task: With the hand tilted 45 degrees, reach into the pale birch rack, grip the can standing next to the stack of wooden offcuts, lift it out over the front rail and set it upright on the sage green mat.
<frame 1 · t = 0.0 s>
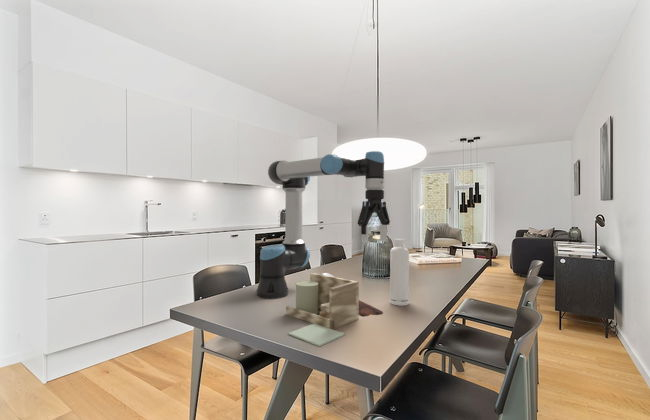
hand: (374, 241, 134), 28 cm above the table, tool pointing down, fingers open, 13 cm apart
can: (306, 312, 130), resting in rack
mat: (316, 334, 107), on the table
offcut stack: (333, 320, 120), resting in rack
bottle: (399, 303, 144), on the table
spoon rest: (329, 289, 170), on the table
wooden tablet: (357, 307, 139), on the table
rack: (321, 316, 125), on the table
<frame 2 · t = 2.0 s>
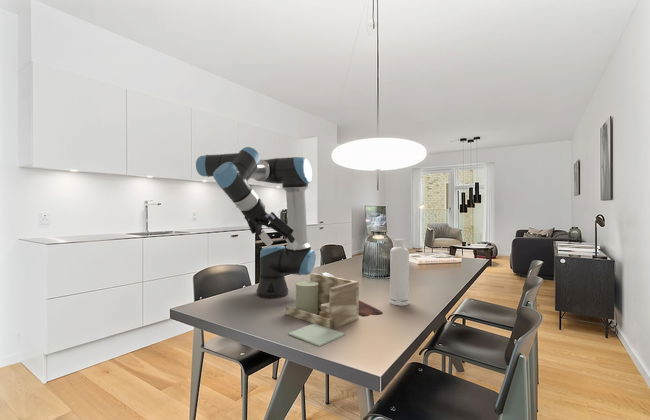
hand: (282, 246, 120), 28 cm above the table, tool tilted 45°, fingers open, 13 cm apart
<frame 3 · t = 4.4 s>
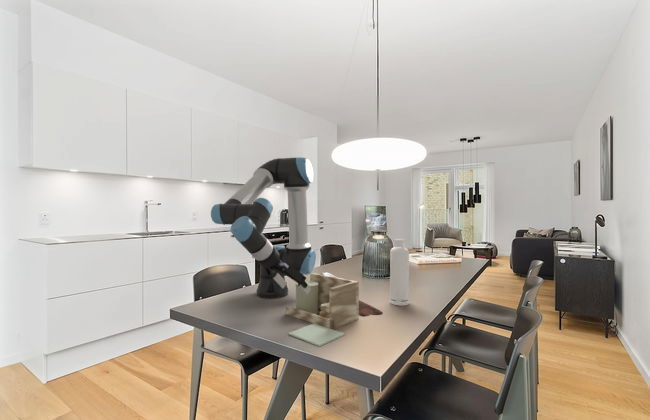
hand: (296, 288, 125), 11 cm above the table, tool tilted 45°, fingers open, 13 cm apart
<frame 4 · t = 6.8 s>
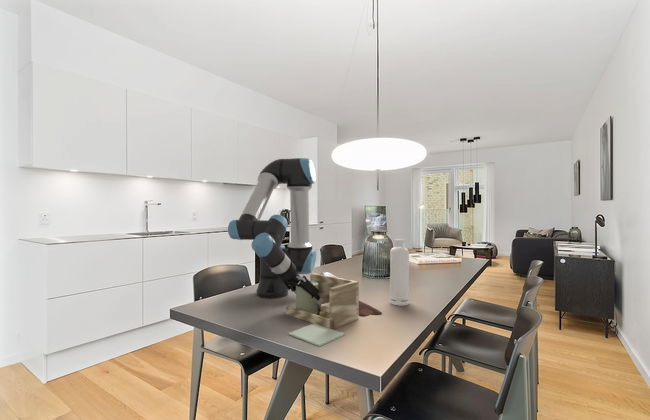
hand: (312, 300, 133), 4 cm above the table, tool tilted 45°, fingers closed on can, 9 cm apart
can: (306, 312, 130), resting in rack, touching gripper
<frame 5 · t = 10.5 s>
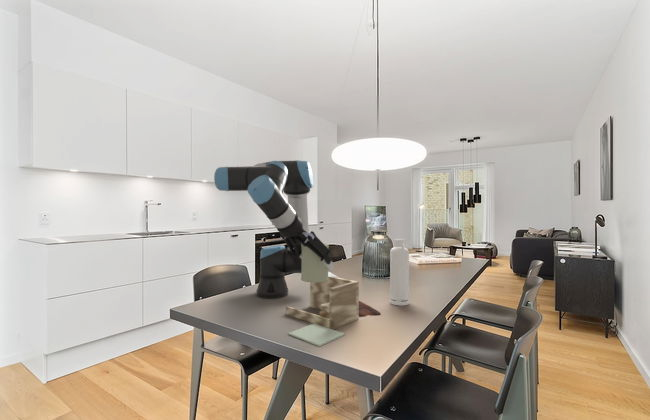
hand: (321, 266, 110), 22 cm above the table, tool tilted 45°, fingers closed on can, 9 cm apart
can: (314, 280, 108), point 18 cm above the table, touching gripper
when the fingers open (6 cm above the table, at t = 14.1 s): can drops 1 cm, resting on mat.
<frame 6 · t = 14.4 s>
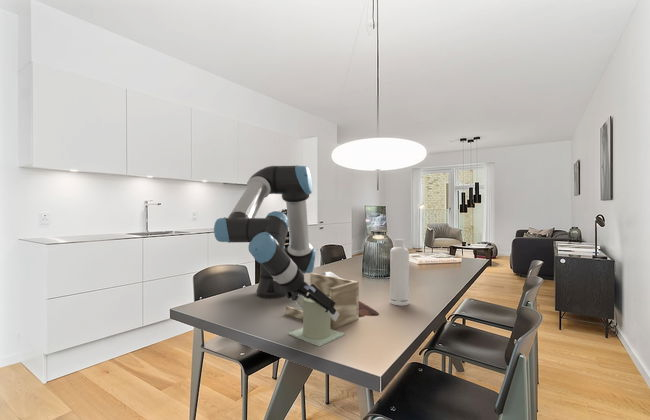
hand: (321, 313, 109), 7 cm above the table, tool tilted 45°, fingers open, 13 cm apart
can: (316, 334, 107), resting on mat
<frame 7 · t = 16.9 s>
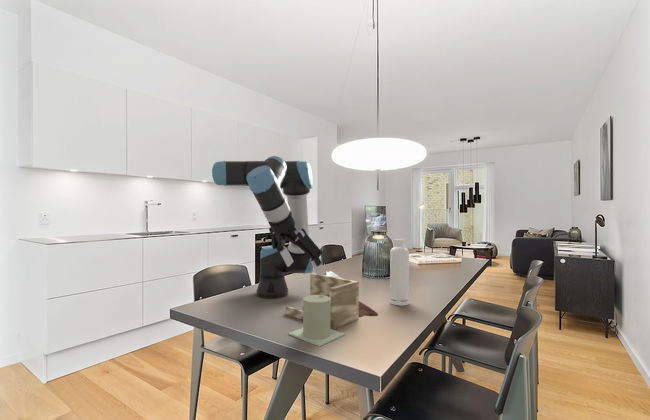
hand: (304, 267, 107), 22 cm above the table, tool tilted 35°, fingers open, 13 cm apart
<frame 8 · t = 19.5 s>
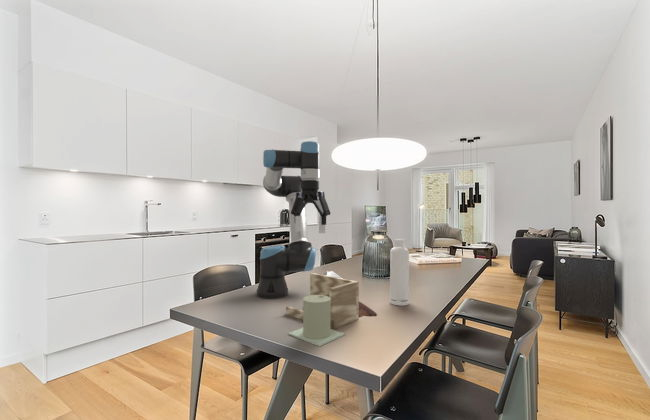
hand: (309, 232, 133), 32 cm above the table, tool pointing down, fingers open, 13 cm apart
at the end: can inside the target area on the mat (0.2 cm from its centre), point 0.3 cm above the mat's base; can tilted 0°; the gripper is holding nothing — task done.
